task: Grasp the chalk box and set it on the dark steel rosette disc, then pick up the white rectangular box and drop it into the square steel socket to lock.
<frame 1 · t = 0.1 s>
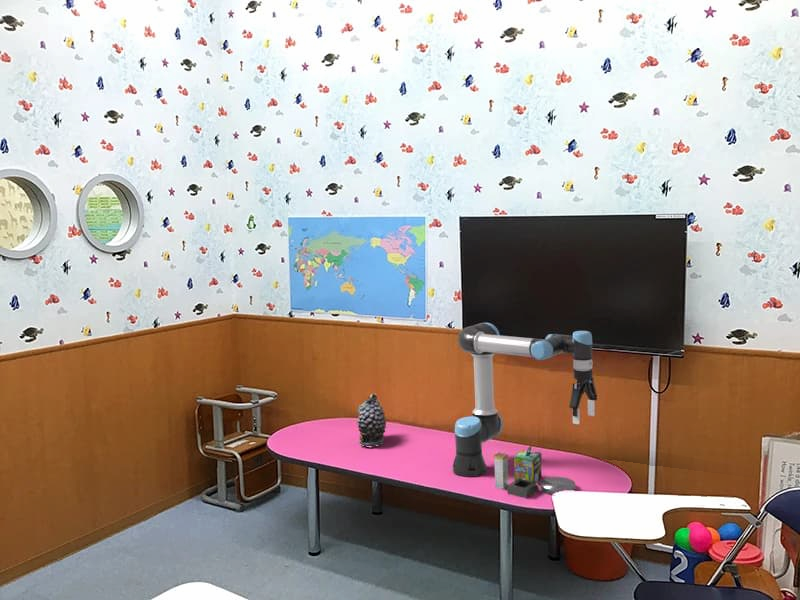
hand: (583, 419, 286), 28 cm above the table, fingers open, 13 cm apart
rosette disc: (557, 488, 286), on the table
chalk box: (528, 480, 298), on the table
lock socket: (522, 492, 284), on the table
white rectangular box: (501, 487, 291), on the table
dark pine cone: (372, 443, 357), on the table
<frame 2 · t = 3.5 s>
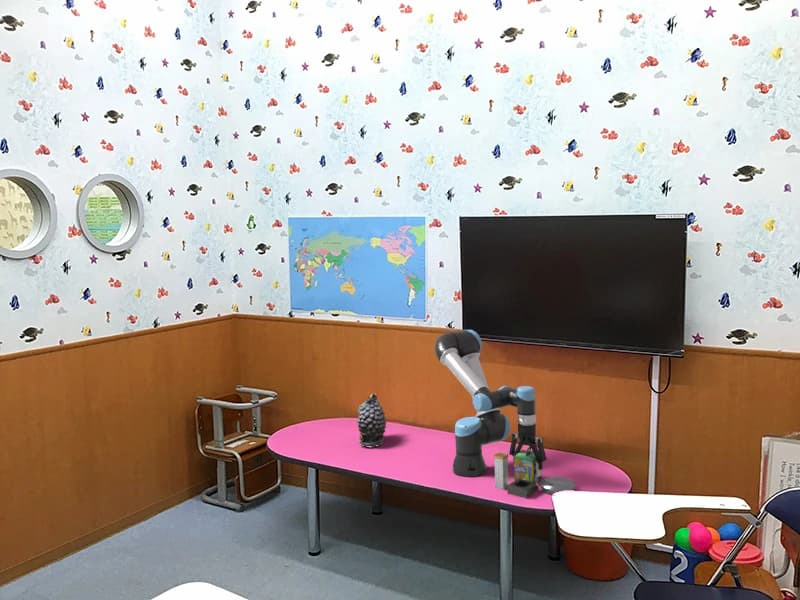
hand: (528, 473, 297), 3 cm above the table, fingers closed on chalk box, 9 cm apart
chalk box: (528, 480, 297), on the table, touching gripper
everything else where it was.
when the fingers open (7 cm above the table, at t = 9.8 s): chalk box drops 1 cm, resting on rosette disc.
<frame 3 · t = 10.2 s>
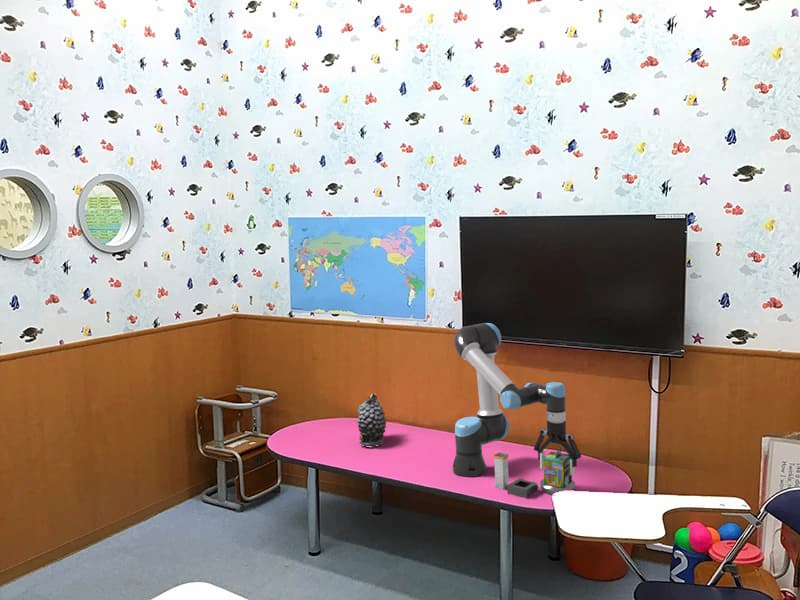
hand: (557, 470, 285), 8 cm above the table, fingers open, 13 cm apart
chalk box: (557, 483, 286), point 2 cm above the table, touching rosette disc
everything else where it was.
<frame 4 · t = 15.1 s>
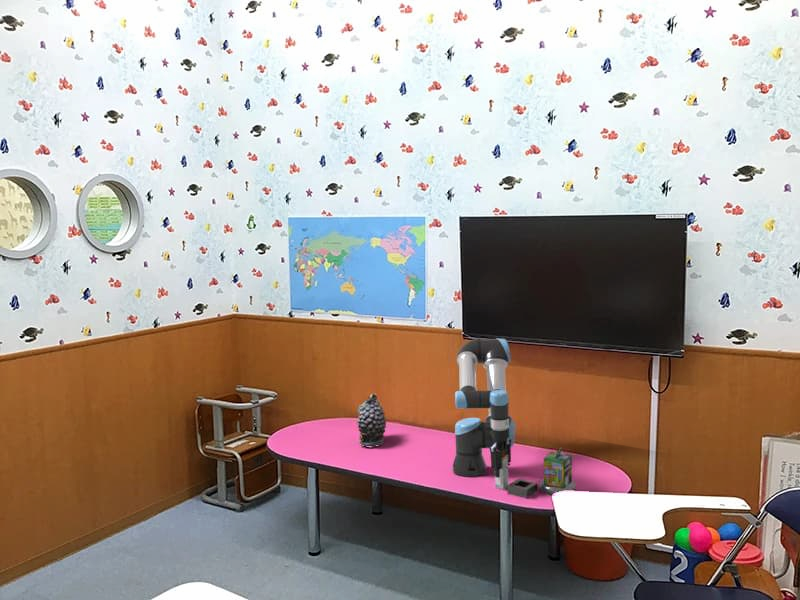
hand: (501, 482, 291), 2 cm above the table, fingers closed on white rectangular box, 4 cm apart
white rectangular box: (501, 487, 291), on the table, touching gripper
everything else where it was.
when the fingers open (5 cm above the table, at t = 19.7 s): white rectangular box drops 3 cm, resting in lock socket.
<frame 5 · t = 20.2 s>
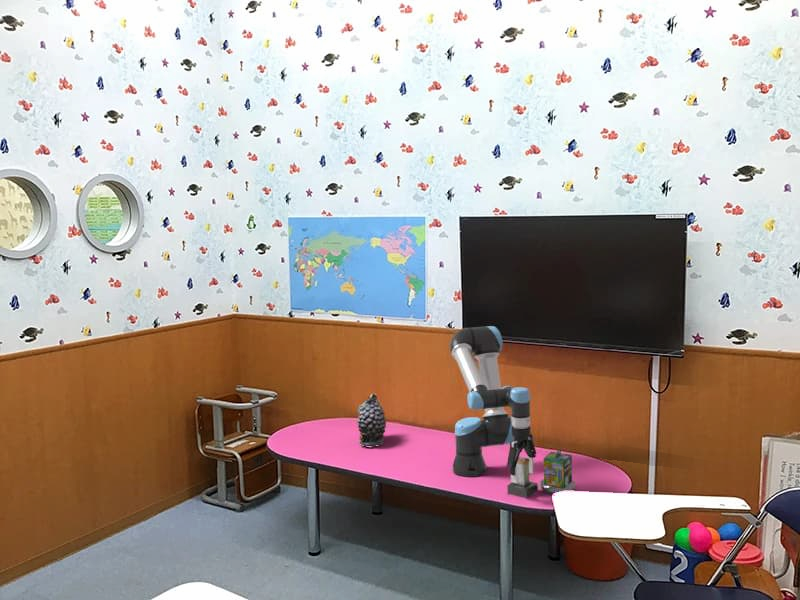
hand: (522, 477, 284), 6 cm above the table, fingers open, 12 cm apart
white rectangular box: (522, 492, 285), resting in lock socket
everything else where it was.
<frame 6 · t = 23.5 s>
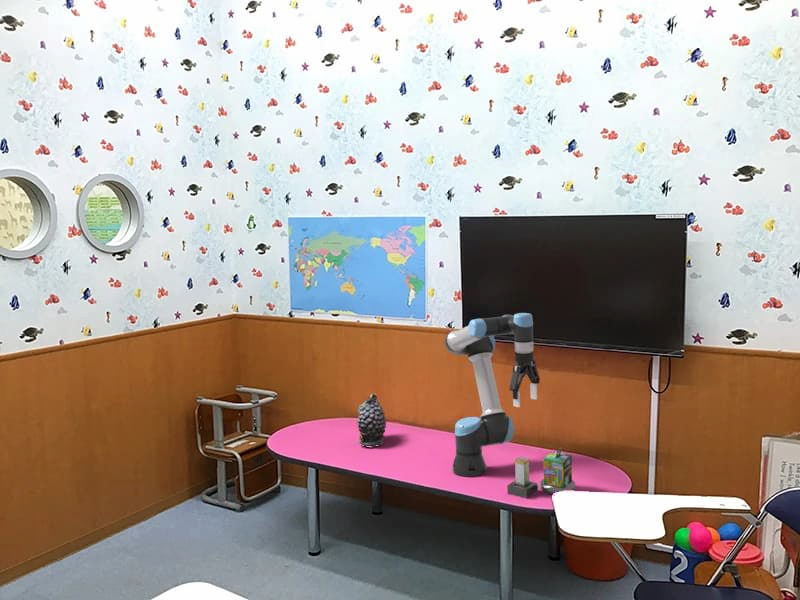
hand: (525, 402, 283), 37 cm above the table, fingers open, 13 cm apart
nothing on the table moved.
at the end: chalk box inside the target area on the rosette disc (0.1 cm from its centre), point 2.3 cm above the rosette disc's base; chalk box tilted 0°; white rectangular box 0.0 cm off-centre on the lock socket, point 0.0 cm above the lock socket's base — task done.
